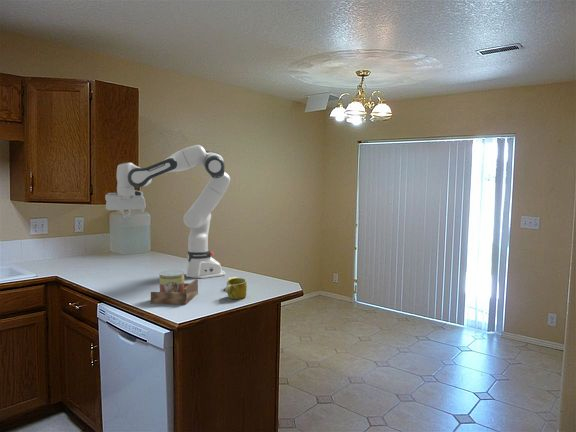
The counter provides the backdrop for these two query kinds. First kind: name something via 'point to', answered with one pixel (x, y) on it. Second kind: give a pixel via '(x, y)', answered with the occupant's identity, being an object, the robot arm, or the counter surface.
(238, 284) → the mug
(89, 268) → the counter surface
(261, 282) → the counter surface
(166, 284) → the canned food
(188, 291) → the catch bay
